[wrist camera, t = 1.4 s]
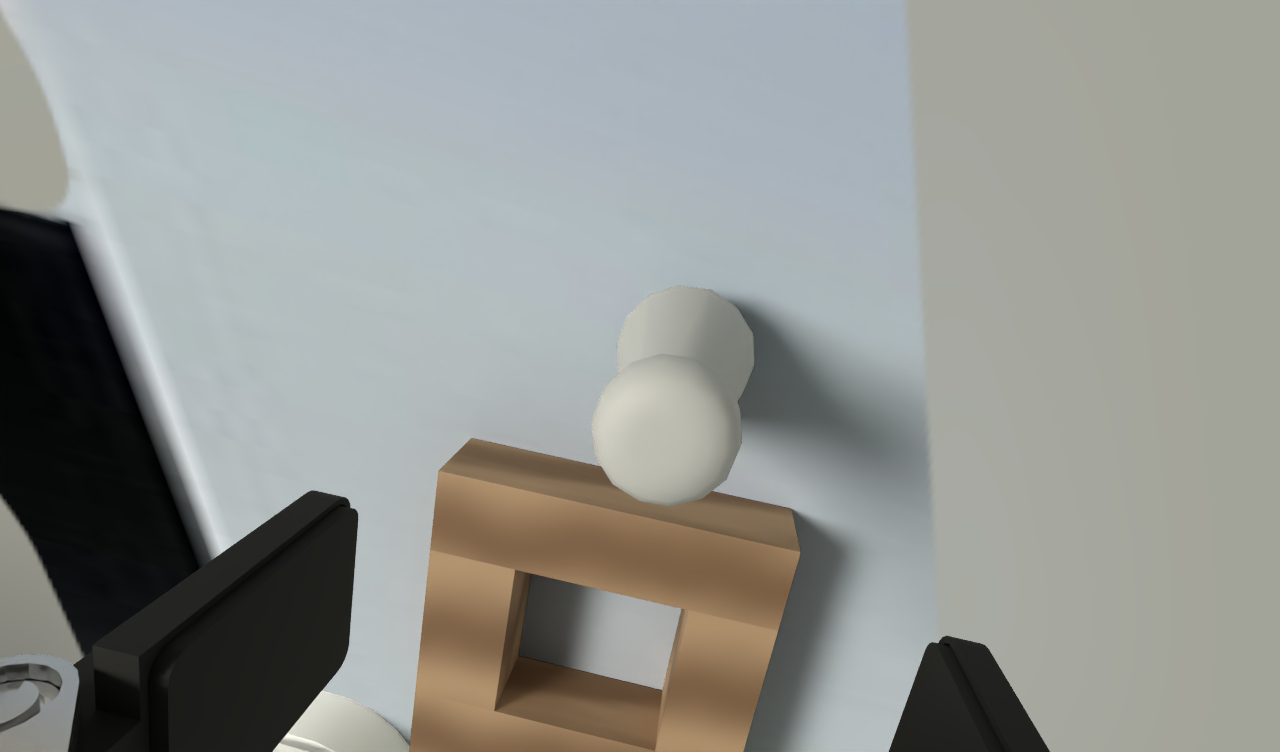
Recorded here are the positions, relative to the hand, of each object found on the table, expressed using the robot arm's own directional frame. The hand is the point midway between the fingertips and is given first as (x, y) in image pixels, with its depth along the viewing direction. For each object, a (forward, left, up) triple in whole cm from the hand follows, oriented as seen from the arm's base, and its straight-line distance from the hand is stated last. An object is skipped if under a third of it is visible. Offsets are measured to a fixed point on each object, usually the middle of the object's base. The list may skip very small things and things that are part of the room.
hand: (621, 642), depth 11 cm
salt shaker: (0, 0, -21) cm, 21 cm away
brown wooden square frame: (+15, -2, -21) cm, 25 cm away
